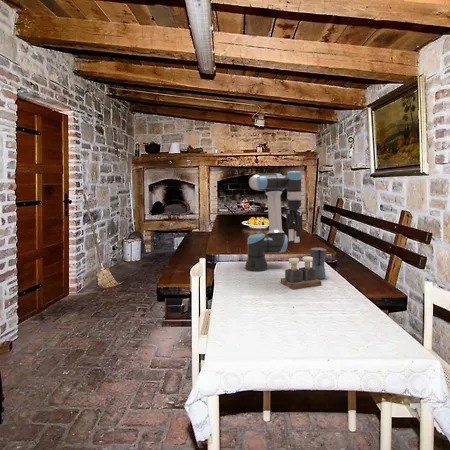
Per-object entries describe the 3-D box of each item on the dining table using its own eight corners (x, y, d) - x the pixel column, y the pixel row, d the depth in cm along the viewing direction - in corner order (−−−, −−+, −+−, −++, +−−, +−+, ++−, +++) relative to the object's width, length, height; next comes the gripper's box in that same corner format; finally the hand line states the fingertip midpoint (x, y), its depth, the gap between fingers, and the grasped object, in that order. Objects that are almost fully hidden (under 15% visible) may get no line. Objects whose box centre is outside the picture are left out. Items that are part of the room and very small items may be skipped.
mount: (280, 282, 196) (280, 268, 195) (307, 279, 202) (307, 265, 201) (293, 289, 183) (293, 274, 182) (321, 285, 189) (321, 270, 188)
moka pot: (324, 274, 212) (324, 242, 210) (329, 281, 197) (329, 247, 194) (308, 274, 213) (308, 242, 210) (312, 281, 198) (312, 247, 195)
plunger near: (286, 272, 192) (286, 258, 191) (295, 271, 194) (295, 257, 193) (292, 274, 186) (292, 260, 185) (300, 273, 188) (301, 259, 187)
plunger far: (300, 270, 195) (300, 256, 194) (308, 269, 197) (309, 256, 196) (306, 272, 189) (306, 258, 189) (314, 271, 191) (314, 257, 190)
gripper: (279, 199, 192) (279, 239, 195) (297, 200, 175) (297, 244, 178) (291, 198, 195) (291, 238, 198) (309, 199, 178) (309, 243, 181)
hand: (294, 241), depth 188 cm, fingers open, 5 cm apart
